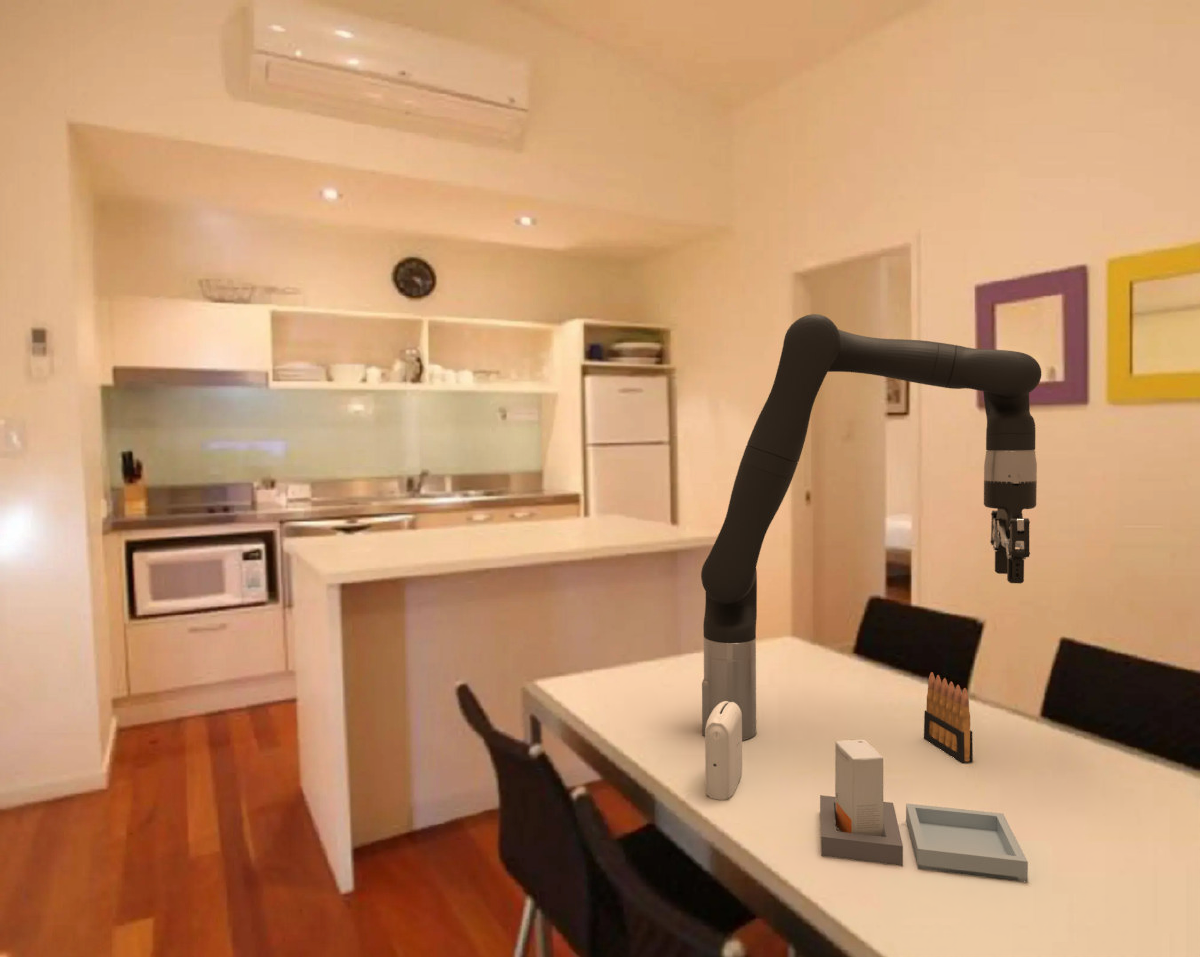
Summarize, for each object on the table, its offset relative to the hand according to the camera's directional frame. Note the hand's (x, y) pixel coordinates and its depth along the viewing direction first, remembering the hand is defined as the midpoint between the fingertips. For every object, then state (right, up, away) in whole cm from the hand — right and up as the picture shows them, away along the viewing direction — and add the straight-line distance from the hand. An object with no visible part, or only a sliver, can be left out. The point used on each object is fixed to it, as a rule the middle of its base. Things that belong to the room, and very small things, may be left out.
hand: (1008, 578), depth 125 cm
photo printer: (-48, -31, -8) cm, 57 cm away
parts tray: (-20, -31, -27) cm, 46 cm away
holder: (-32, -31, -24) cm, 51 cm away
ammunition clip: (-8, -30, +4) cm, 31 cm away
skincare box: (-32, -31, -24) cm, 51 cm away
